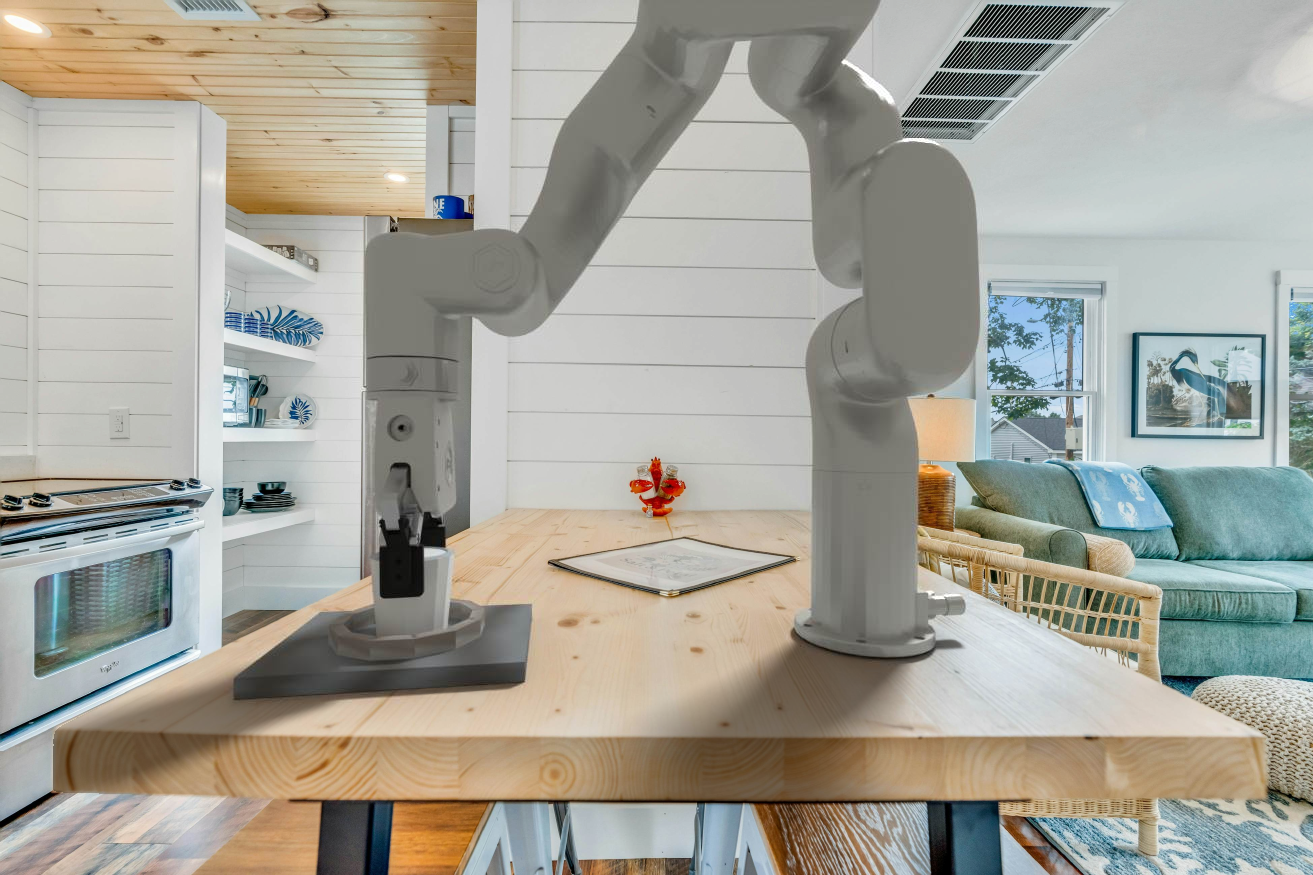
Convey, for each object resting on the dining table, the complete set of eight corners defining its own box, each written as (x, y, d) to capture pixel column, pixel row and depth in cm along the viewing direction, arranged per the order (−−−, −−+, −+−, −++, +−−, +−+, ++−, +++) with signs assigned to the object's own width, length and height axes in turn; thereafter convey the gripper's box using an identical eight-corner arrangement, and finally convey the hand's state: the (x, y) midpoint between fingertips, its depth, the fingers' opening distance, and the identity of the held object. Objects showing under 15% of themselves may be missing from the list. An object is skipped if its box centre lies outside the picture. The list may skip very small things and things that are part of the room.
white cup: (425, 650, 48) (426, 562, 48) (349, 643, 49) (350, 558, 49) (469, 624, 54) (469, 547, 54) (401, 618, 56) (402, 543, 56)
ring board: (531, 618, 61) (532, 588, 61) (524, 681, 45) (525, 641, 45) (320, 627, 58) (320, 596, 58) (233, 699, 42) (233, 656, 42)
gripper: (441, 373, 44) (444, 607, 44) (472, 391, 61) (474, 559, 61) (330, 372, 42) (333, 613, 42) (394, 391, 59) (396, 563, 59)
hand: (416, 581), depth 52 cm, fingers open, 9 cm apart
